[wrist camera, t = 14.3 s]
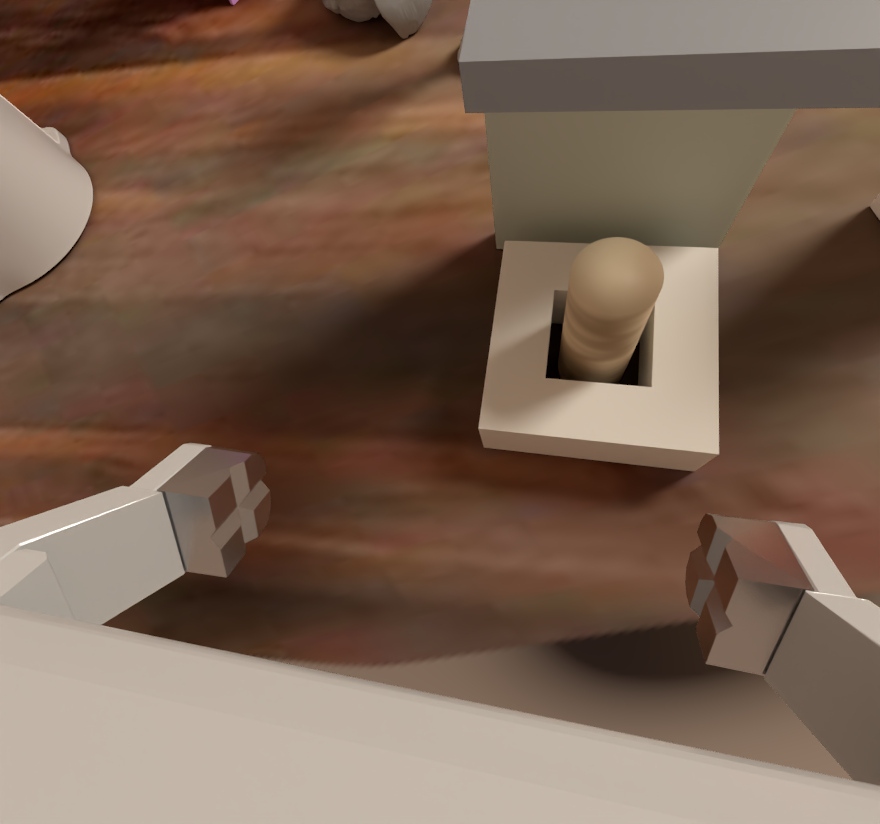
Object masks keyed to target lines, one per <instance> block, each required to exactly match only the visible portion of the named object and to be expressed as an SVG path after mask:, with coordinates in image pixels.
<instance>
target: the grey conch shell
mask: <svg viewBox="0 0 880 824" xmlns="http://www.w3.org/2000/svg"><path fill="white" fill-rule="evenodd" d="M322 1H323V4H324V6H325V7H326V8H327V9H329V10H331V11H332V12H334V13H336V14H339V13H340V14H341V15H342V16H344V17H345V18H348V19H350V20H352V21H356V22H362V21H366V20H370V19H371V18H372V17H374V18H377V17H378V15H379V14H380V13H381V15H382V17H383V18H384V19H385V20H386V21H387V22H388V23H389V24H390V25H391V26H392V28H393V29H394V30H395V31H396V32H397V33H398V35H399V36H400V37H402V38H408V35H410V34H413V33H415V32H416V31H417V29H418V27H419V26H420V25H421V24H422V23H423V20H424V19H425V18H426V16H427V13H428V11H429V9H430V6H431V4H432V1H433V0H322Z"/></svg>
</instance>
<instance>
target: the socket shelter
mask: <svg viewBox="0 0 880 824" xmlns="http://www.w3.org/2000/svg"><path fill="white" fill-rule="evenodd" d="M459 68H460V76H461V84H462V91H463V99H464V107H465V113H485V124H486V135H487V147H488V158H489V170H490V181H491V193H492V204H493V216H494V227H495V239H496V249H503V256H502V263H501V270H500V278H499V285H498V292H497V299H496V306H495V313H494V320H493V327H492V334H491V342H490V349H489V356H488V363H487V370H486V377H485V384H484V391H483V398H482V406H481V413H480V420H479V427H478V429H479V433H480V436H481V439H482V443H483V446H484V448H492V449H501V450H510V451H518V452H527V453H536V454H545V455H554V456H562V457H571V458H580V459H589V460H598V461H606V462H615V463H624V464H633V465H642V466H650V467H659V468H668V469H677V470H686V471H694V472H695V471H696V470H697V469H699V468H700V467H702V466H703V465H704V464H706V463H707V462H709V461H710V460H711V459H713V458H714V457H716V456H717V455H719V337H718V248H719V246H720V244H721V243H722V241H723V239H724V237H725V236H726V234H727V232H728V230H729V228H730V227H731V225H732V223H733V221H734V220H735V218H736V216H737V214H738V212H739V211H740V209H741V207H742V205H743V204H744V202H745V200H746V198H747V196H748V195H749V193H750V191H751V189H752V187H753V186H754V184H755V182H756V180H757V179H758V177H759V175H760V173H761V171H762V170H763V168H764V166H765V164H766V163H767V161H768V159H769V157H770V155H771V154H772V152H773V150H774V148H775V146H776V145H777V143H778V141H779V139H780V138H781V136H782V134H783V132H784V130H785V129H786V127H787V125H788V123H789V122H790V120H791V118H792V116H793V114H794V113H795V111H796V109H804V108H879V107H880V0H471V2H470V7H469V12H468V17H467V22H466V27H465V32H464V38H463V43H462V48H461V53H460V58H459ZM611 237H623V238H629V239H633V240H636V241H638V242H641V243H643V244H644V245H646V246H648V247H649V248H650V249H651V250H652V251H653V252H654V253H655V254H656V255H657V256H658V258H659V260H660V261H661V264H662V266H663V270H664V283H663V286H662V289H661V291H660V293H659V296H658V298H657V300H656V302H655V305H654V307H653V309H652V311H651V314H650V316H649V318H648V320H647V323H646V325H645V327H644V329H643V332H642V334H641V336H640V349H639V371H638V386H632V385H621V384H609V383H597V382H586V381H574V380H562V379H550V378H546V370H547V360H548V350H549V340H550V331H551V323H553V324H563V322H564V314H565V307H566V300H567V292H568V285H569V277H570V270H571V266H572V263H573V261H574V259H575V258H576V256H577V255H578V254H579V253H580V252H581V250H583V249H584V248H585V247H586V246H588V245H589V244H591V243H593V242H595V241H598V240H601V239H605V238H611Z"/></svg>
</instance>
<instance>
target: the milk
mask: <svg viewBox="0 0 880 824" xmlns="http://www.w3.org/2000/svg"><path fill="white" fill-rule="evenodd" d="M870 208H871V209H872V211H873V212H874V213H875V215H876V216H877V217H878V219H879V220H880V194H879V195H878V196H877V197H876V198H875V200H874V201H873V202H872V203H871V204H870Z"/></svg>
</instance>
